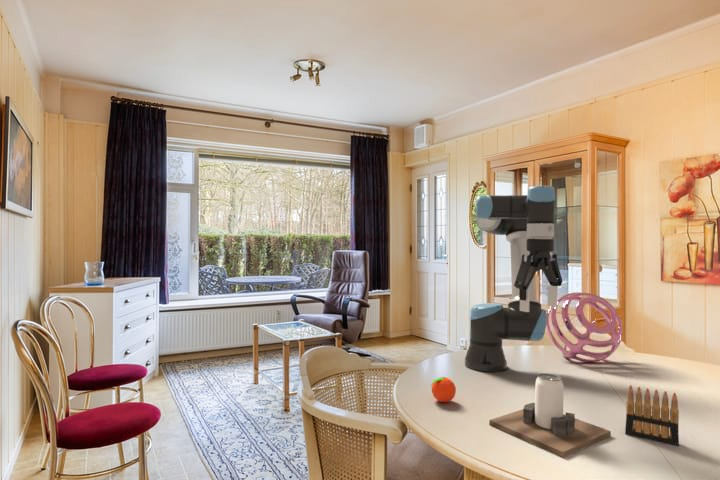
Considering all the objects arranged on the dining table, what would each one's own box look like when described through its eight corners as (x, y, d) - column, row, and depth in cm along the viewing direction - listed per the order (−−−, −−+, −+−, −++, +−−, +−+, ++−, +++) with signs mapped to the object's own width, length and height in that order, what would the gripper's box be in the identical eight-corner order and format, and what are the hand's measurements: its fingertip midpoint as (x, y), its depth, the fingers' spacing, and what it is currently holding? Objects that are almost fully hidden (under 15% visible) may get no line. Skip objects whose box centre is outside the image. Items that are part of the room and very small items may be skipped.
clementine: (436, 407, 123) (437, 382, 123) (423, 399, 129) (424, 375, 129) (460, 404, 126) (461, 379, 126) (446, 396, 132) (447, 372, 132)
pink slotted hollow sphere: (537, 302, 199) (562, 272, 177) (601, 319, 195) (635, 291, 173) (532, 360, 184) (559, 335, 161) (601, 380, 180) (639, 358, 158)
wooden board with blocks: (489, 424, 112) (489, 406, 112) (537, 408, 123) (537, 392, 123) (563, 457, 96) (563, 435, 96) (610, 435, 107) (610, 416, 107)
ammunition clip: (625, 434, 108) (625, 385, 108) (625, 431, 109) (626, 383, 109) (679, 446, 102) (679, 394, 102) (678, 443, 103) (679, 392, 103)
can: (550, 432, 105) (551, 382, 105) (528, 422, 111) (529, 374, 111) (568, 427, 108) (569, 378, 108) (546, 418, 114) (547, 371, 114)
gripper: (524, 238, 121) (523, 315, 122) (575, 238, 135) (574, 307, 136) (502, 238, 127) (501, 311, 128) (553, 237, 141) (551, 303, 142)
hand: (538, 309), depth 132 cm, fingers open, 13 cm apart
